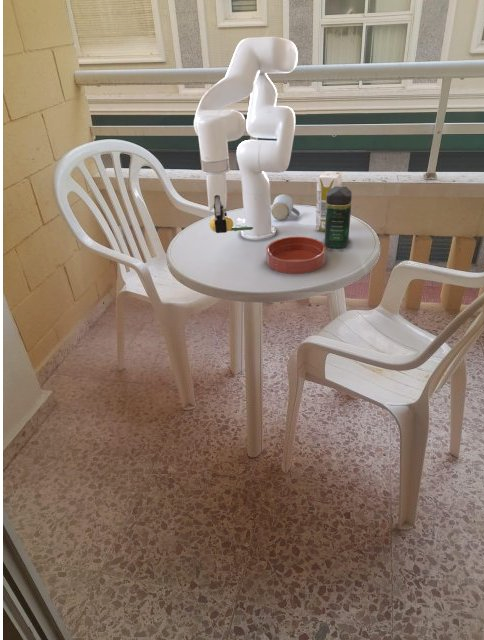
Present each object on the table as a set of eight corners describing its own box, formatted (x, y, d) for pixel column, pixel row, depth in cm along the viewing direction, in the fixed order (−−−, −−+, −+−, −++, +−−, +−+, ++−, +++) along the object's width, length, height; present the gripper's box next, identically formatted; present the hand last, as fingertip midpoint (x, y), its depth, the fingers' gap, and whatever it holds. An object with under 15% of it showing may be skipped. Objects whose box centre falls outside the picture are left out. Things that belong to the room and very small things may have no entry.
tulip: (209, 234, 133) (208, 220, 130) (211, 228, 137) (209, 214, 134) (253, 232, 133) (252, 217, 130) (253, 226, 137) (252, 212, 134)
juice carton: (314, 231, 162) (315, 177, 151) (320, 222, 168) (322, 170, 157) (335, 233, 159) (337, 178, 148) (340, 224, 166) (343, 171, 155)
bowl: (256, 268, 141) (255, 255, 138) (283, 245, 154) (282, 233, 151) (310, 279, 133) (311, 266, 130) (334, 254, 146) (334, 241, 143)
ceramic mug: (270, 220, 172) (270, 201, 168) (274, 213, 179) (273, 193, 174) (298, 222, 170) (298, 201, 166) (301, 214, 177) (301, 194, 172)
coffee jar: (347, 251, 147) (351, 194, 137) (322, 249, 149) (324, 193, 138) (349, 238, 155) (353, 184, 144) (326, 237, 157) (328, 183, 146)
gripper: (204, 158, 131) (211, 219, 141) (199, 175, 117) (207, 241, 127) (230, 157, 131) (235, 218, 141) (227, 173, 117) (233, 239, 127)
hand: (221, 228), depth 134 cm, fingers closed on tulip, 4 cm apart
